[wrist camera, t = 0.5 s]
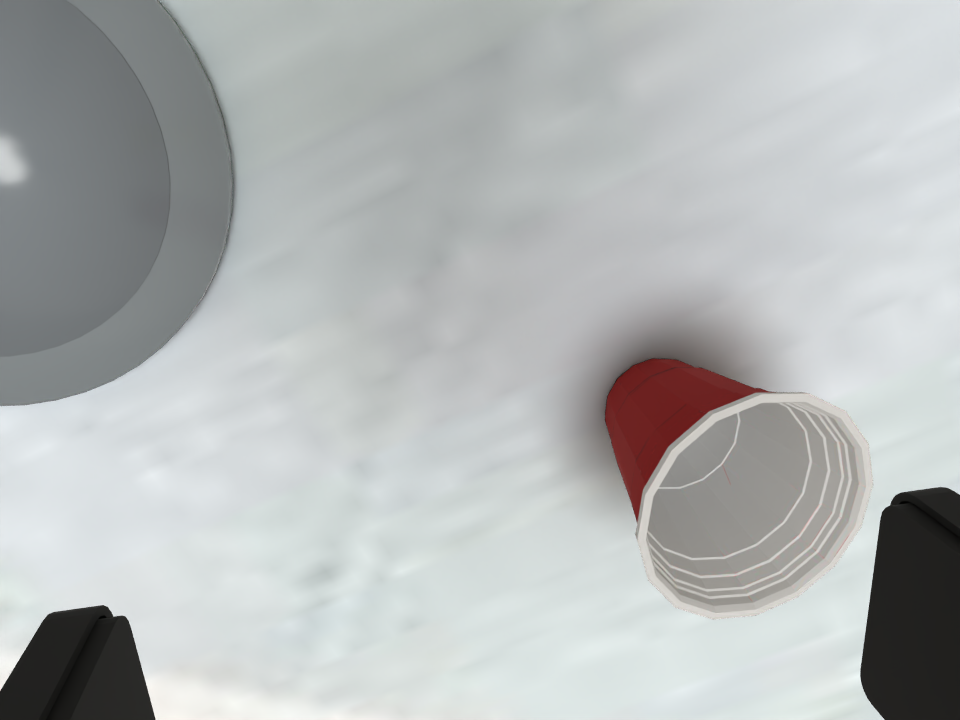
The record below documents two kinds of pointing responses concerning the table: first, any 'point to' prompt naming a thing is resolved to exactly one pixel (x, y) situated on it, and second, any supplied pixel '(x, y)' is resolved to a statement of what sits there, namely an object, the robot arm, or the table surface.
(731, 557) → the plastic cup
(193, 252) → the dish
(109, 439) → the table surface
